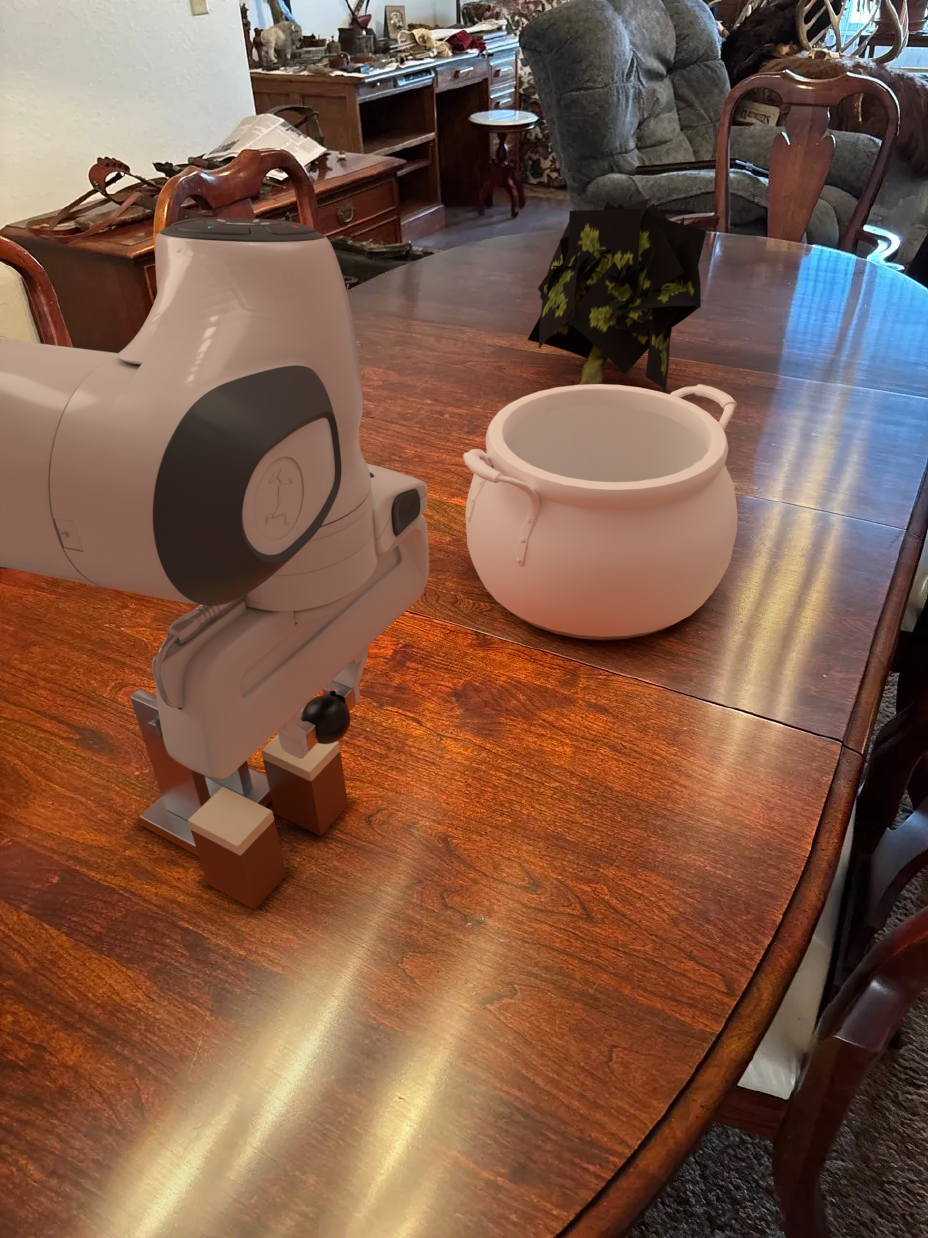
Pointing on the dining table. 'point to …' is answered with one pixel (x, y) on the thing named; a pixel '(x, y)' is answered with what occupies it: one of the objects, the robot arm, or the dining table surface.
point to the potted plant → (620, 288)
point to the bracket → (184, 781)
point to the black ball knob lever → (327, 718)
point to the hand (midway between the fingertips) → (322, 726)
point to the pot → (603, 508)
